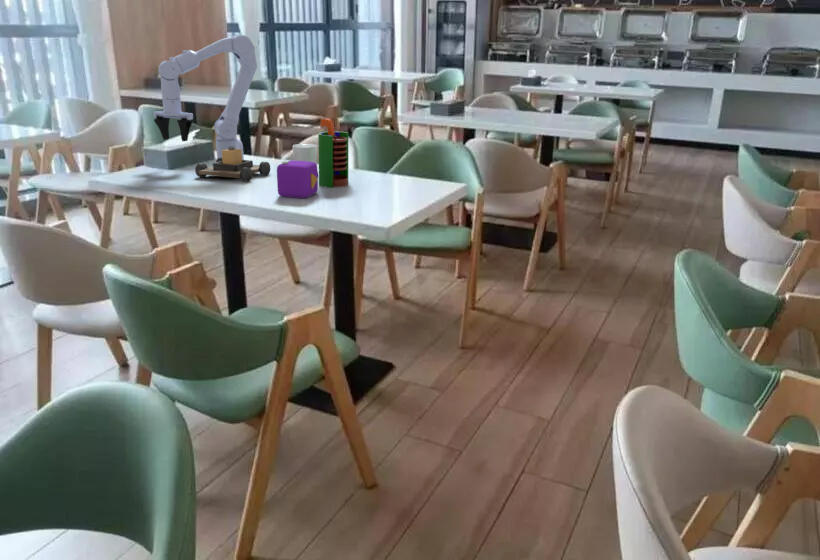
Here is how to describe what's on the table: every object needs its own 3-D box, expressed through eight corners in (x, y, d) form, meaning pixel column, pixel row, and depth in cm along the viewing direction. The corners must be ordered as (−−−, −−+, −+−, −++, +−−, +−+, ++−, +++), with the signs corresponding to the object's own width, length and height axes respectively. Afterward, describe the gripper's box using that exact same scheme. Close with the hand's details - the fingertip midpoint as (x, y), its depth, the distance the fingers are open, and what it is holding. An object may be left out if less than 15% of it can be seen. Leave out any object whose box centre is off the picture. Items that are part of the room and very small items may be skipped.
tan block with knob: (232, 166, 223) (230, 145, 221) (242, 167, 222) (241, 146, 220) (223, 169, 219) (221, 147, 217) (233, 170, 218) (232, 148, 215)
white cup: (288, 176, 223) (287, 146, 219) (303, 172, 229) (302, 142, 226) (308, 179, 219) (307, 148, 216) (322, 175, 226) (321, 145, 222)
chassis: (224, 169, 232) (223, 156, 230) (271, 174, 226) (270, 160, 224) (195, 178, 218) (194, 163, 216) (244, 183, 212) (243, 168, 210)
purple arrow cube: (323, 189, 205) (322, 156, 202) (312, 200, 193) (311, 164, 189) (288, 188, 206) (286, 155, 203) (275, 198, 193) (273, 163, 190)
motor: (342, 188, 207) (341, 121, 200) (314, 186, 209) (312, 120, 202) (351, 181, 216) (351, 117, 210) (324, 180, 218) (323, 116, 211)
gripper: (145, 98, 224) (149, 140, 229) (181, 100, 220) (185, 143, 224) (159, 97, 230) (163, 137, 235) (195, 99, 226) (199, 140, 230)
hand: (175, 140), depth 230 cm, fingers open, 7 cm apart
